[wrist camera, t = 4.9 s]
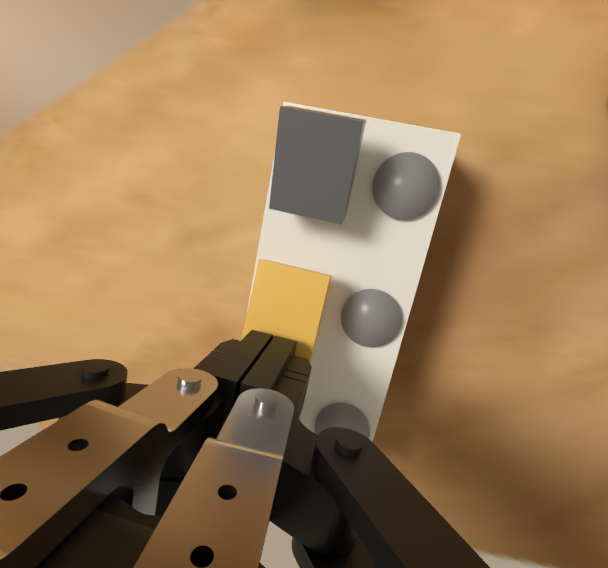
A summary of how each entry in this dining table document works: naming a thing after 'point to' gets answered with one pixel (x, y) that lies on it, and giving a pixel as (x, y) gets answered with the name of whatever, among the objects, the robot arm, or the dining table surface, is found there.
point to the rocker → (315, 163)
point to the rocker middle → (288, 304)
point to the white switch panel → (365, 266)
